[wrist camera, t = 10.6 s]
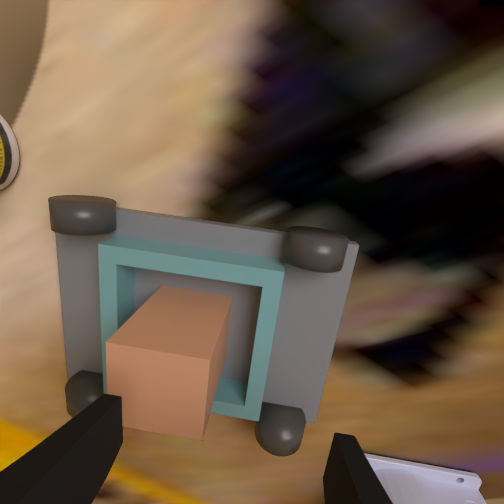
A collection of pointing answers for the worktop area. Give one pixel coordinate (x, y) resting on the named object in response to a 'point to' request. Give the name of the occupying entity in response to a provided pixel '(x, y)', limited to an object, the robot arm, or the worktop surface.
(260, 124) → the worktop surface
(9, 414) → the worktop surface
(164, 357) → the block
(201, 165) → the worktop surface
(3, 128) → the supplement bottle
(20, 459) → the robot arm
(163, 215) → the chassis
